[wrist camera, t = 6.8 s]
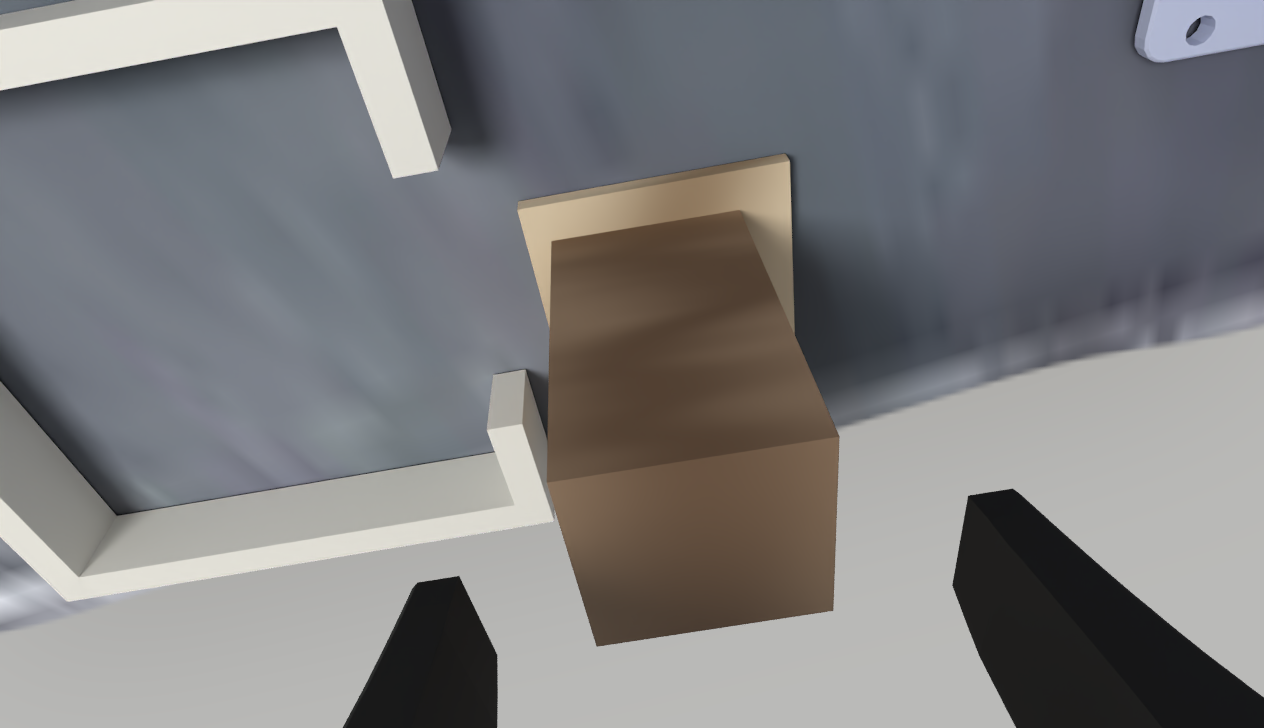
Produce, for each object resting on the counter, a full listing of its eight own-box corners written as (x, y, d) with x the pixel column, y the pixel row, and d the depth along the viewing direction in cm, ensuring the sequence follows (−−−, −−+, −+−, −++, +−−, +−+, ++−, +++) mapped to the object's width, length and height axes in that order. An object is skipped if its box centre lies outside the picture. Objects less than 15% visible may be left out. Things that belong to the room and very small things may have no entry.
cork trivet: (785, 153, 15) (789, 161, 15) (791, 365, 19) (795, 375, 18) (518, 201, 16) (517, 209, 15) (572, 403, 19) (572, 413, 19)
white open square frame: (392, -62, 13) (367, -41, 11) (554, 464, 20) (554, 521, 19) (-315, 75, 13) (-437, 113, 11) (105, 539, 21) (67, 601, 19)
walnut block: (739, 209, 16) (839, 436, 10) (748, 360, 18) (833, 610, 12) (551, 241, 16) (546, 483, 10) (585, 387, 18) (596, 646, 13)
